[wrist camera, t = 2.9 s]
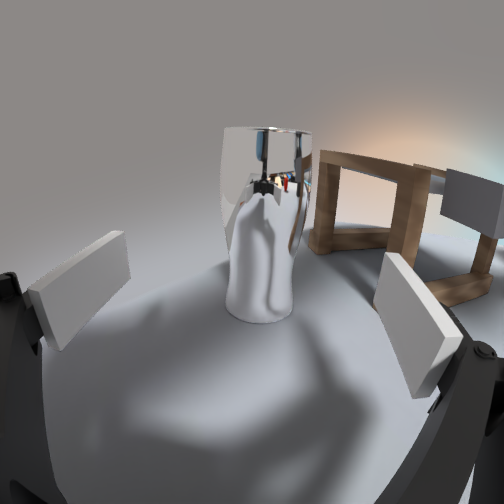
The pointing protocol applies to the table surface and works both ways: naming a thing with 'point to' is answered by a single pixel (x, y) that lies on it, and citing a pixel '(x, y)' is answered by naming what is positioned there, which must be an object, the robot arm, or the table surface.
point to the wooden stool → (394, 223)
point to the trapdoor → (469, 201)
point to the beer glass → (263, 216)
